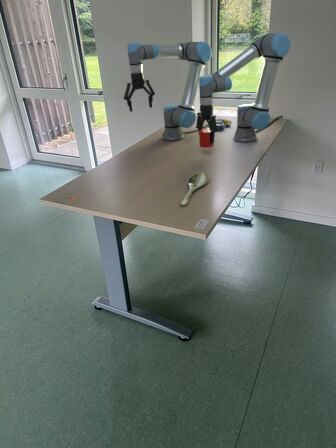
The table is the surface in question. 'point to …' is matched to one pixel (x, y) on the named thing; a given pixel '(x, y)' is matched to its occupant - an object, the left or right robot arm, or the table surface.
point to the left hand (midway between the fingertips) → (141, 109)
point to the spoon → (195, 184)
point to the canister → (205, 138)
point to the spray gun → (220, 123)
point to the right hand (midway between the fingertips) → (206, 141)
